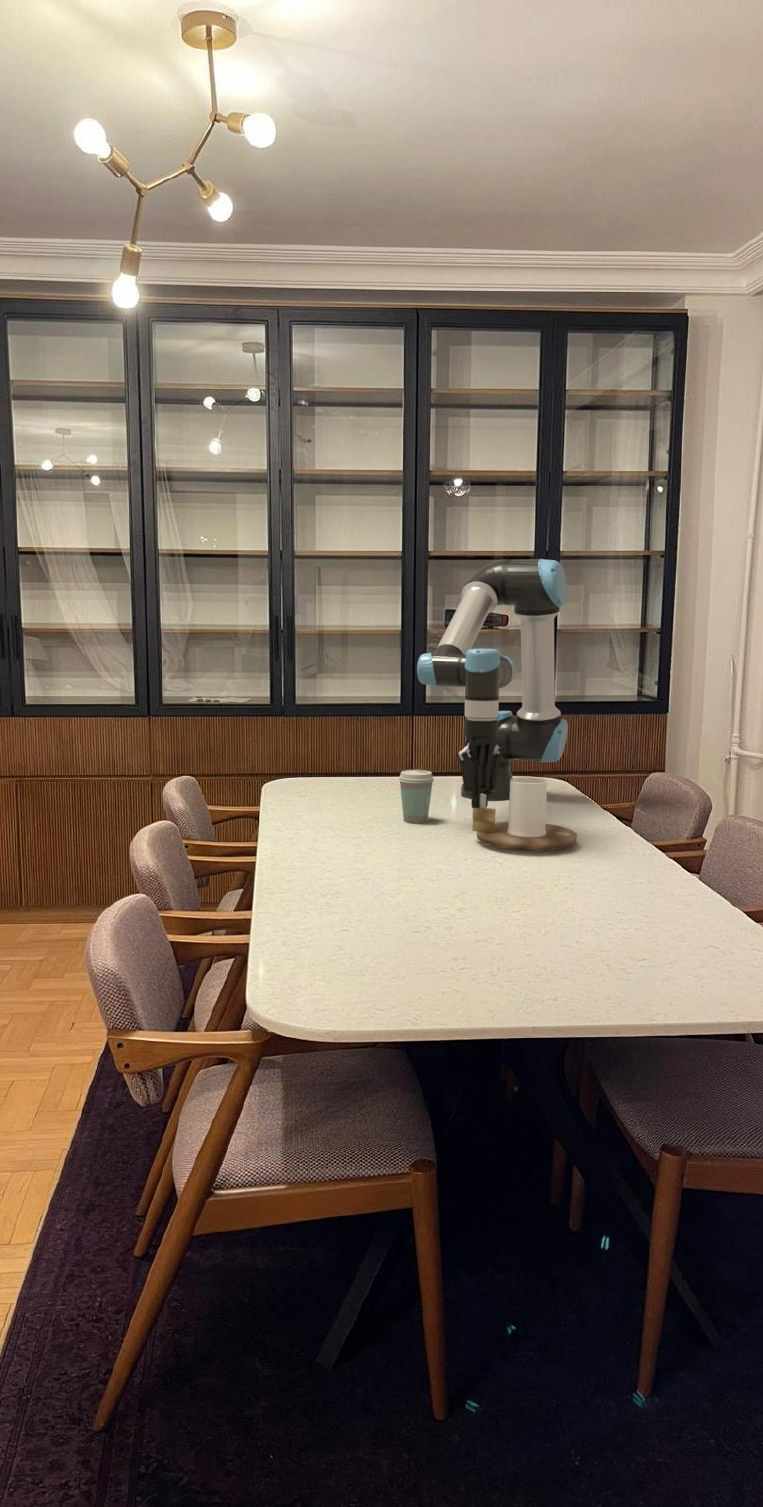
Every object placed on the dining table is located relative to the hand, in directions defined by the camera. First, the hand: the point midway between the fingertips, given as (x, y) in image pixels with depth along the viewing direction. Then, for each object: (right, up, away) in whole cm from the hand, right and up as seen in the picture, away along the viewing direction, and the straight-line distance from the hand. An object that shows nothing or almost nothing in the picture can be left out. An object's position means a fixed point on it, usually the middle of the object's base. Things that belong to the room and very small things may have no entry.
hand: (479, 822), depth 235 cm
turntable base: (+10, -5, -3) cm, 12 cm away
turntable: (+10, -3, -3) cm, 11 cm away
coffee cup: (-14, -1, +19) cm, 24 cm away
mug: (+11, -2, -3) cm, 12 cm away
